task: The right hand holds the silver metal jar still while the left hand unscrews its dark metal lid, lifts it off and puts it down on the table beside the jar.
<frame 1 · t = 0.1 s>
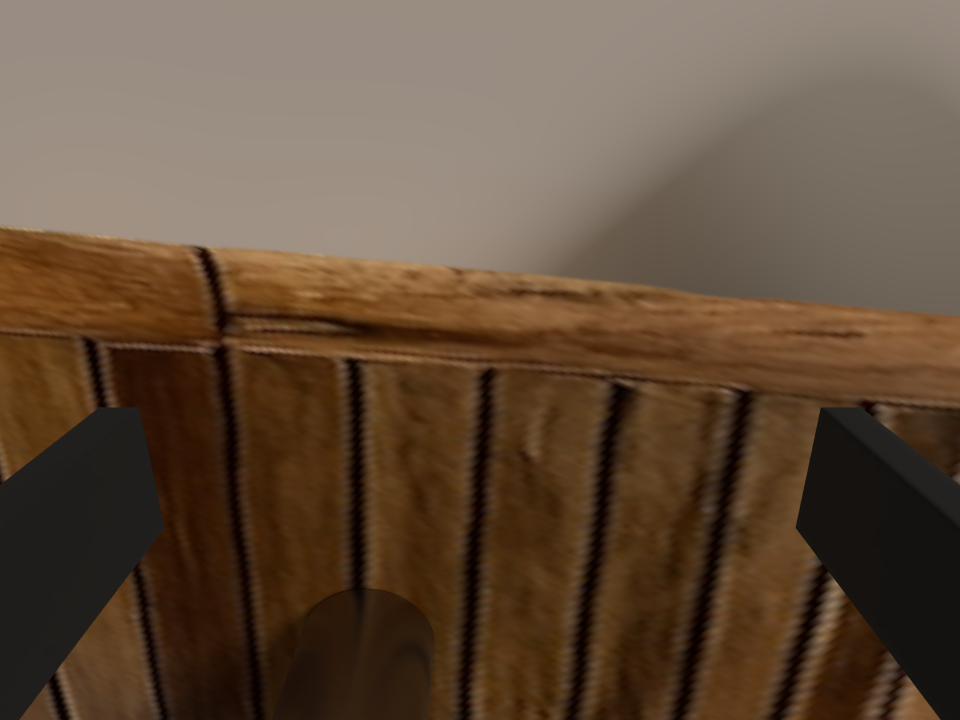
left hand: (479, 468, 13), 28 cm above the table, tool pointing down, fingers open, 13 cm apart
jar: (368, 640, 50), on the table
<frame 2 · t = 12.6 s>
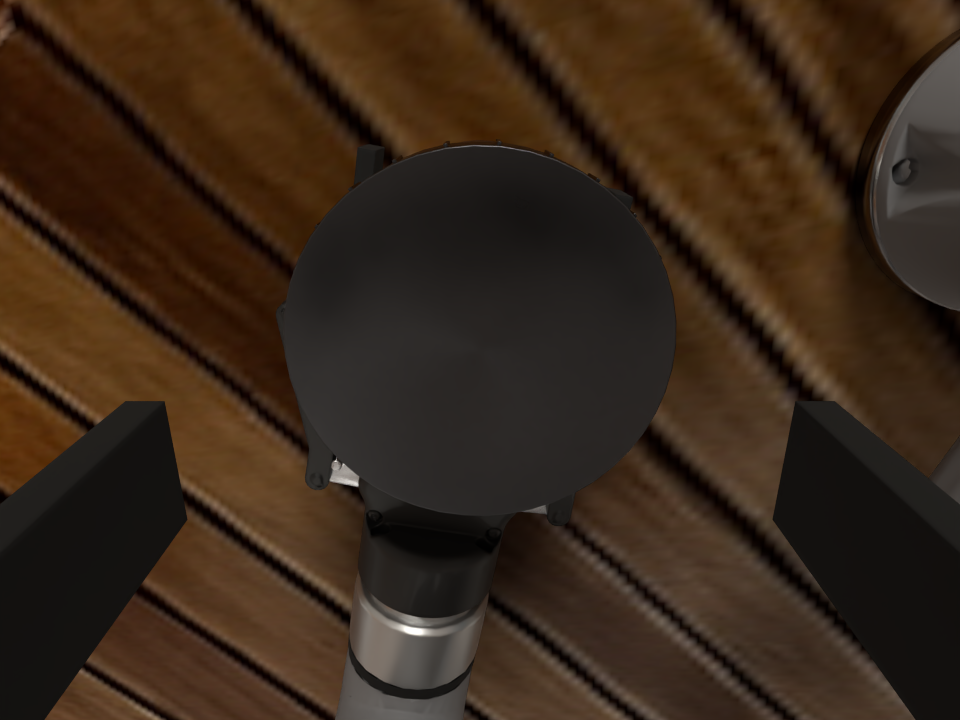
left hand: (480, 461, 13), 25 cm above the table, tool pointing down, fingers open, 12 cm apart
lid: (479, 346, 19), point 18 cm above the table, screwed on, not yet turned
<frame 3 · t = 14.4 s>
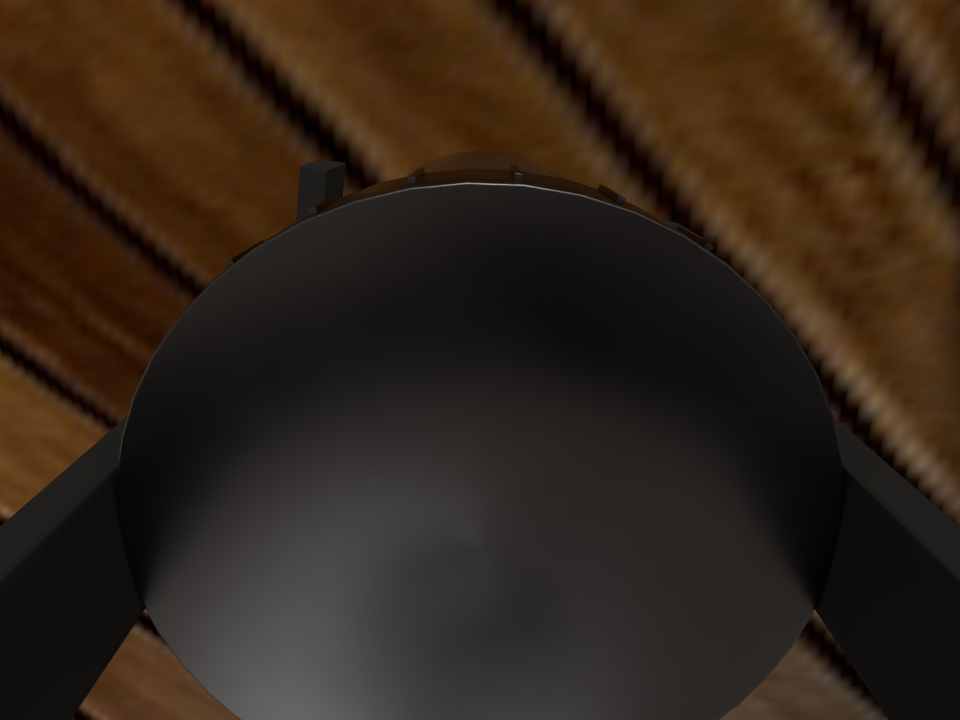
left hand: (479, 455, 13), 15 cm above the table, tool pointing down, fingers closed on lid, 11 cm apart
jar: (480, 278, 27), on the table, touching right hand
lid: (479, 537, 11), point 18 cm above the table, screwed on, not yet turned, touching left hand
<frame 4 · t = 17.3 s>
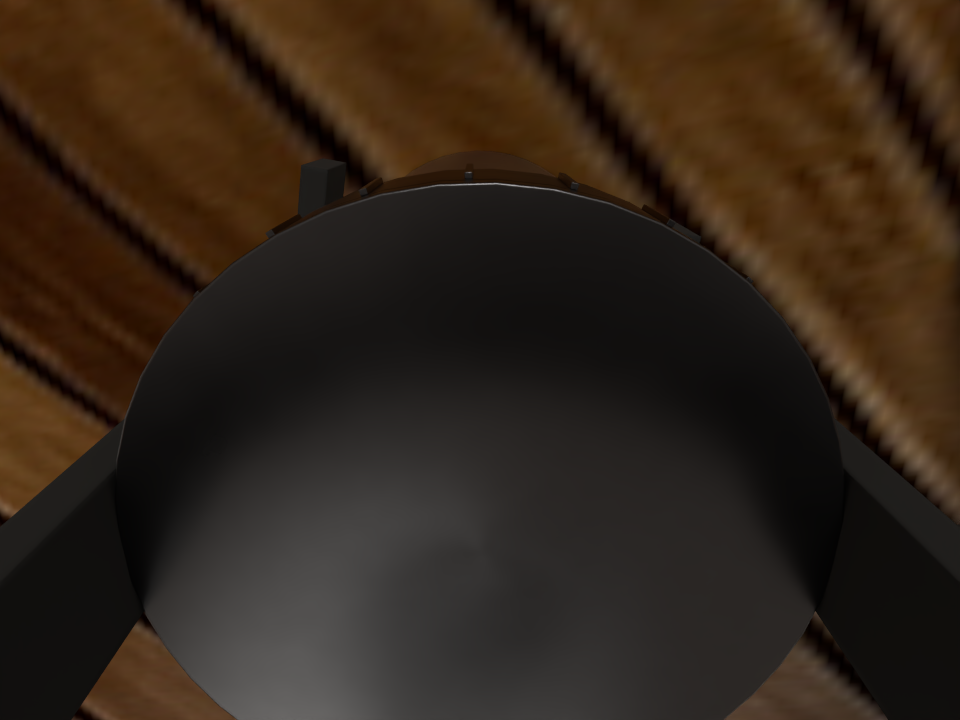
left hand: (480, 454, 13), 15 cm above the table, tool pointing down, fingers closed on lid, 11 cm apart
jar: (480, 277, 27), on the table, touching right hand
lid: (479, 538, 11), point 18 cm above the table, turned 79° so far, risen 0.2 cm, still on its thread, touching left hand
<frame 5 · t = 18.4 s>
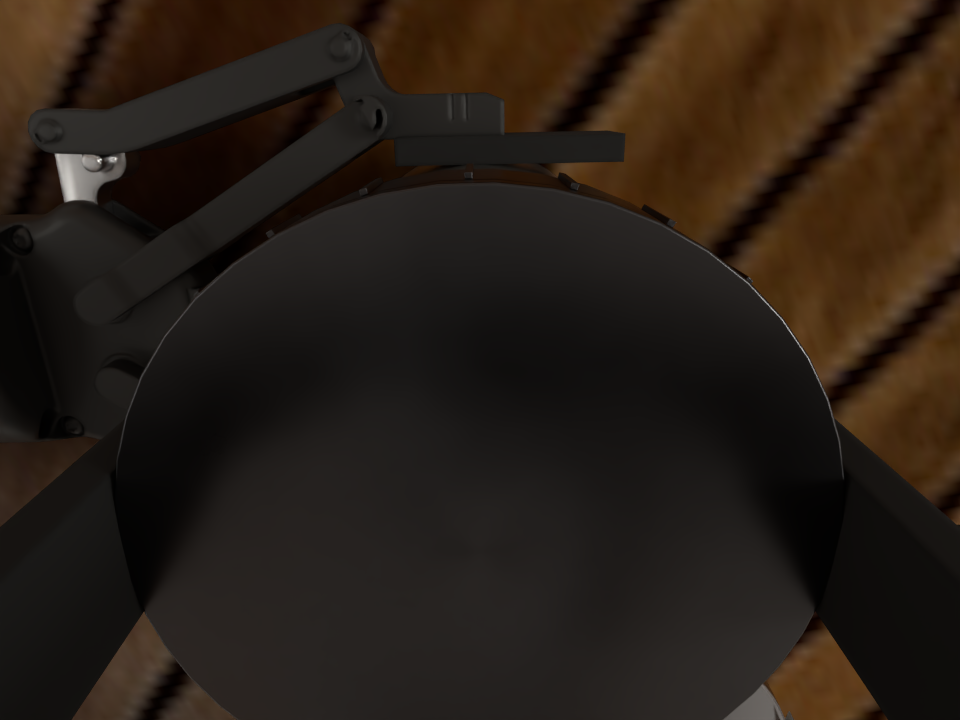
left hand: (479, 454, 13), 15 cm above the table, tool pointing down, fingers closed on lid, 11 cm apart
right hand: (606, 318, 22), fingers closed on jar, 10 cm apart
jar: (479, 274, 28), on the table, touching right hand
lid: (479, 538, 11), point 18 cm above the table, off its thread, touching left hand
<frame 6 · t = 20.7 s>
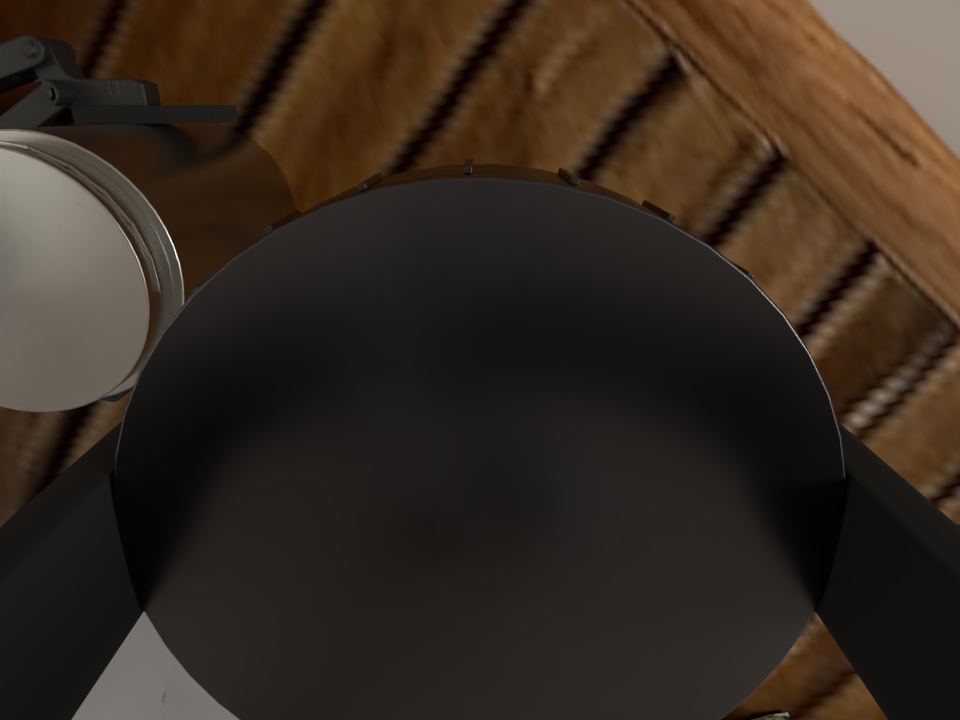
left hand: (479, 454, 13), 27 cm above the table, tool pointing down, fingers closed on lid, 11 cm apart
jar: (210, 212, 39), on the table, touching right hand
lid: (479, 535, 11), point 30 cm above the table, off its thread, touching left hand
when the left hand's fingers open (0 cm above the table, at t = 24.1 s): lid drops 1 cm, point 2 cm above the table.
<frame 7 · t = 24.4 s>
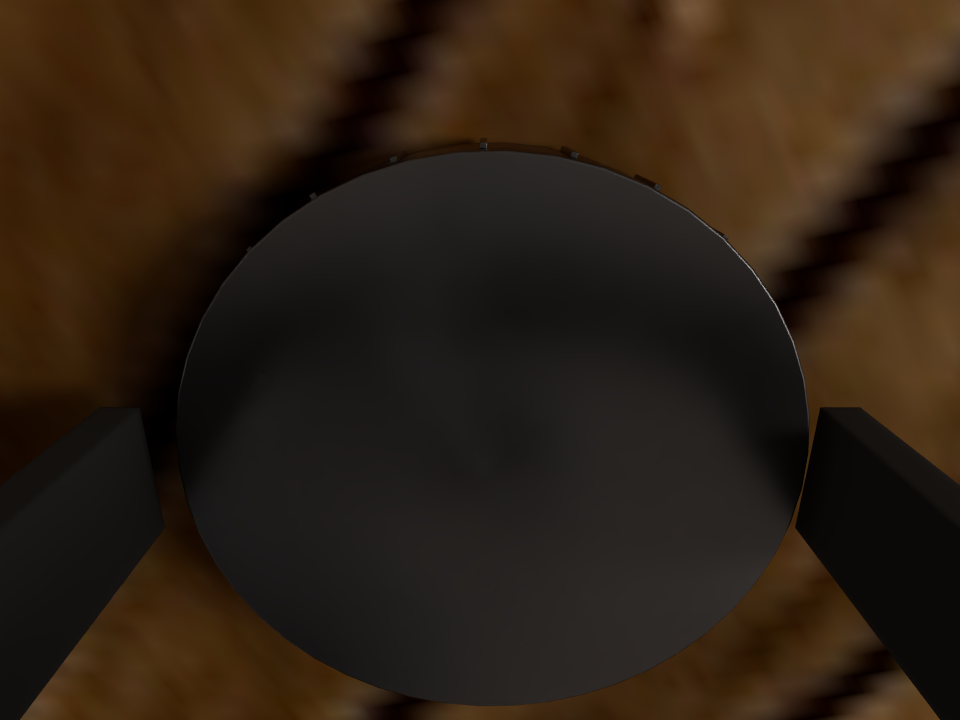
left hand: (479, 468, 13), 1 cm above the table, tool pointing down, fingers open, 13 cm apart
lid: (490, 468, 12), point 2 cm above the table, off its thread
when the right hand's fingers open (7 cm above the table, at t = 25.1 s): jar stays where it is, on the table.
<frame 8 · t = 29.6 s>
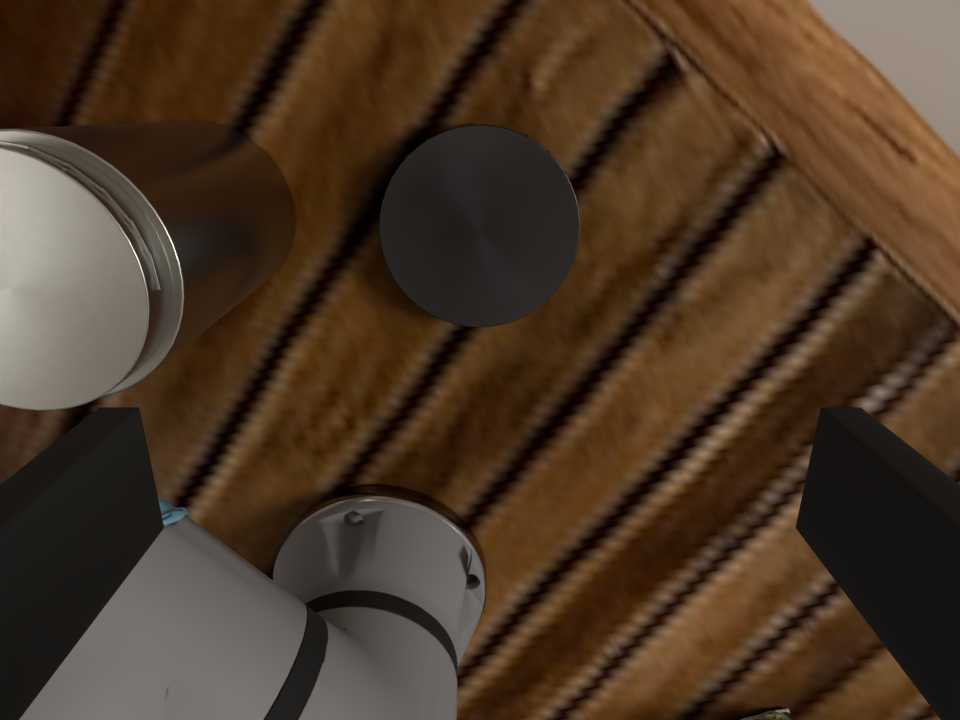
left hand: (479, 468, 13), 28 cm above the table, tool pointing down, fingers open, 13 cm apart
jar: (210, 212, 39), on the table
lid: (479, 230, 37), point 2 cm above the table, off its thread
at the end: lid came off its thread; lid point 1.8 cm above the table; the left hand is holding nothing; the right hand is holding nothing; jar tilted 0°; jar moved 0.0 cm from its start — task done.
